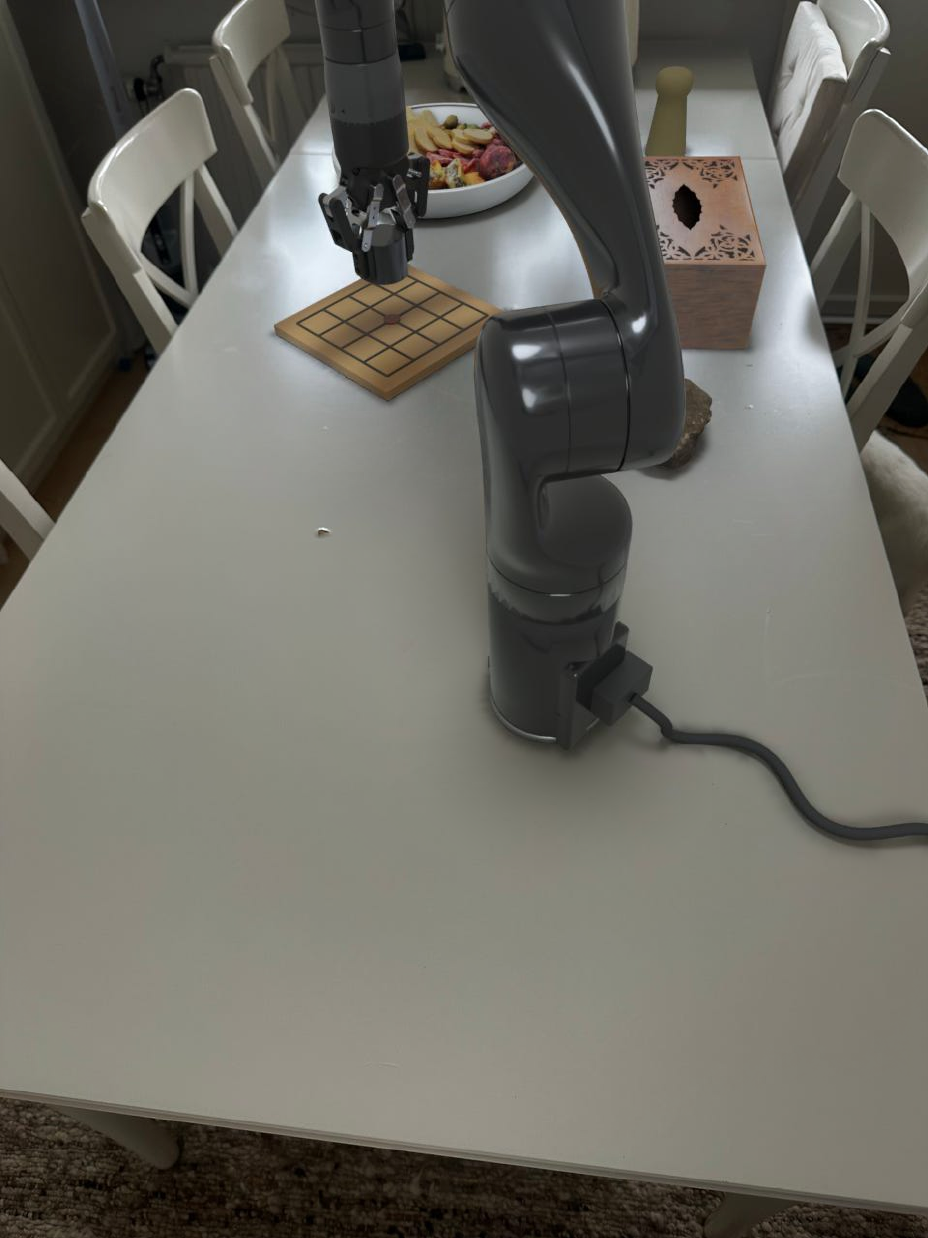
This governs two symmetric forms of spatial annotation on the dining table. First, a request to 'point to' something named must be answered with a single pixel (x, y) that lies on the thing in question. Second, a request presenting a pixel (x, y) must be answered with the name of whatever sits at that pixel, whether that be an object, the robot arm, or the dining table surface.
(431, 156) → the bowl
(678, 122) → the pepper shaker
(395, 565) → the dining table surface
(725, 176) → the tissue box cover
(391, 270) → the dark grey short cylinder
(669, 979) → the dining table surface
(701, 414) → the stone
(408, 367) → the board
